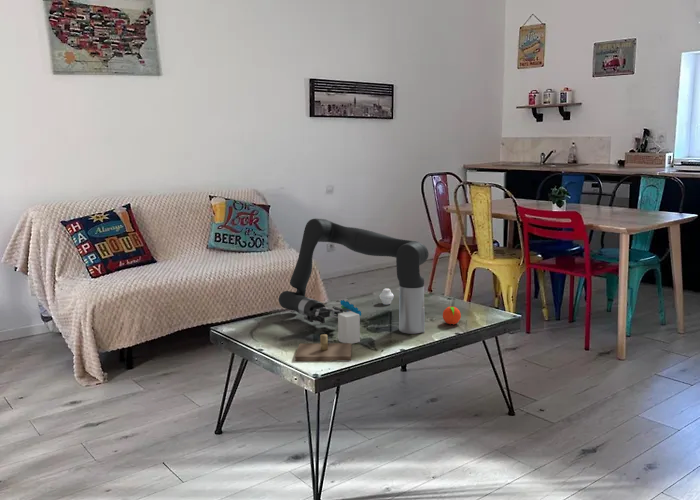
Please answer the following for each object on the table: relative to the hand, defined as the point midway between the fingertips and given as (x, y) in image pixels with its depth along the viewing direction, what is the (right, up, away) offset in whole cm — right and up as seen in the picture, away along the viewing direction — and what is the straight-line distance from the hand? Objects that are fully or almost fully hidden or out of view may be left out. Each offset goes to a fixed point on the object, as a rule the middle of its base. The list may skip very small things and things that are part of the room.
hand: (333, 318), depth 225 cm
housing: (+6, -7, -7) cm, 12 cm away
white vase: (+22, +2, +42) cm, 47 cm away
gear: (+6, -2, +23) cm, 24 cm away
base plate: (-3, -10, -20) cm, 22 cm away
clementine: (+45, -4, +11) cm, 46 cm away
